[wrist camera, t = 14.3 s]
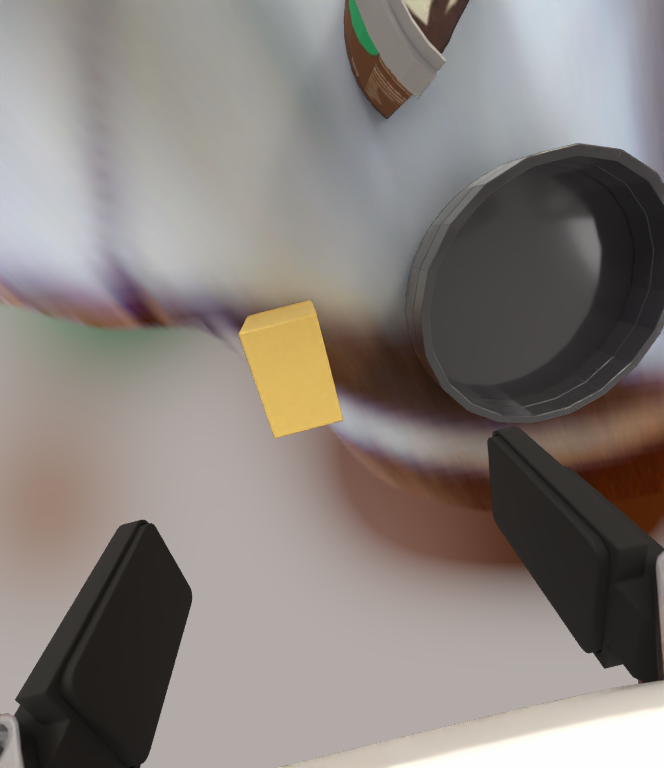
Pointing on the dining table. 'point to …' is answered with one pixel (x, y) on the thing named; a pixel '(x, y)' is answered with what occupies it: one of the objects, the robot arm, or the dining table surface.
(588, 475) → the dining table surface
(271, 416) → the cheese
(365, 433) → the dining table surface
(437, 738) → the robot arm
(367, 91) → the food container
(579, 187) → the round cake pan
